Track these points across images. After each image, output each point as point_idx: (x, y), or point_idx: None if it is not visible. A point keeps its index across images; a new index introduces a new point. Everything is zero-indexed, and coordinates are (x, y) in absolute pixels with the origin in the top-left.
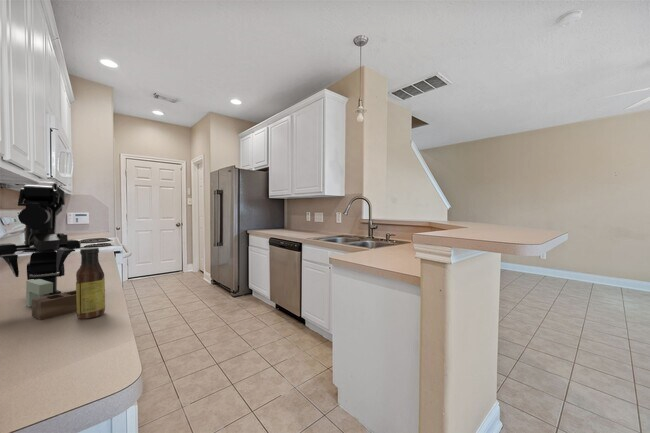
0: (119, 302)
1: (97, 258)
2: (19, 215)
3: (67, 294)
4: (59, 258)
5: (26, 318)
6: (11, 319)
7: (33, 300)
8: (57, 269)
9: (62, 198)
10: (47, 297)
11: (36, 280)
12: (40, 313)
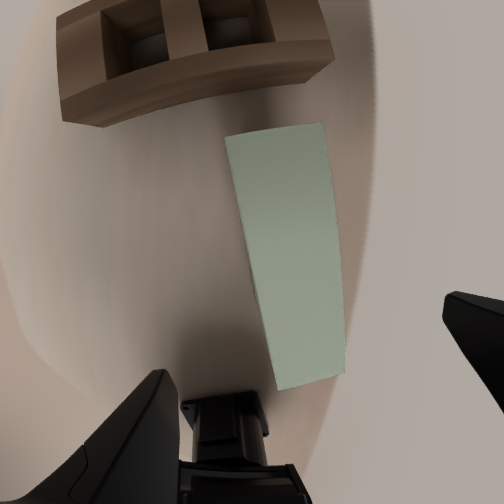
0: (21, 55)
1: None
2: None
3: (168, 16)
4: (134, 501)
5: None
6: (361, 102)
7: (327, 41)
8: (171, 394)
9: None
10: (264, 44)
11: (304, 351)
12: None
